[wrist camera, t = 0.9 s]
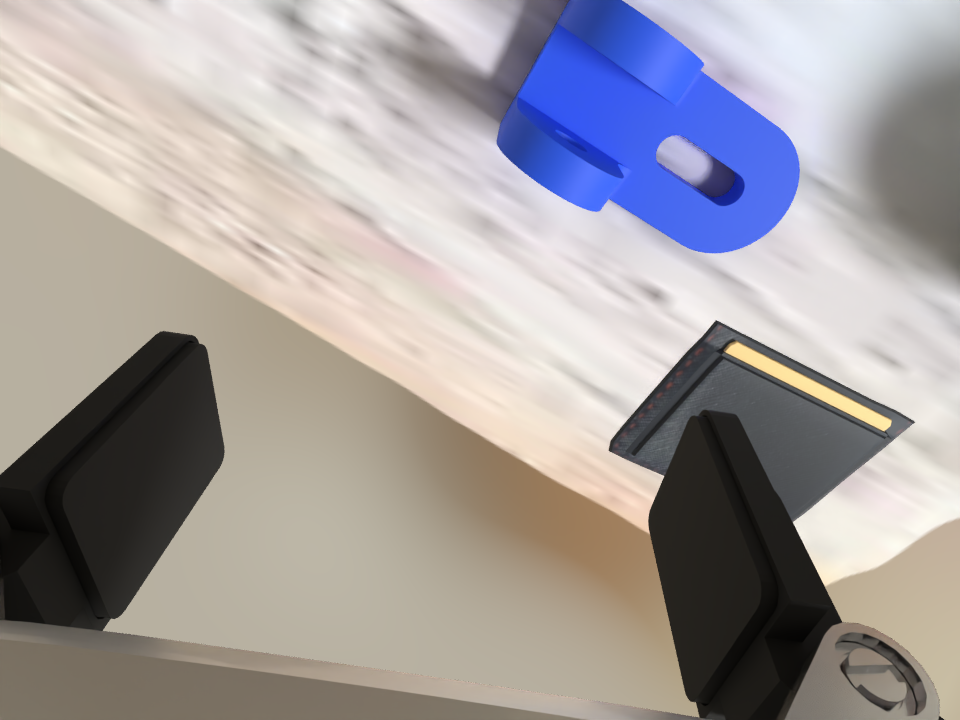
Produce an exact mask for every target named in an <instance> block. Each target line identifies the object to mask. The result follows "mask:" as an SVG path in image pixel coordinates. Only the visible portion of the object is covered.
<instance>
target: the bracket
mask: <svg viewBox="0 0 960 720" xmlns="http://www.w3.org/2000/svg"><path fill="white" fill-rule="evenodd" d="M703 66H704V63H703V62H702V61H701V60H700V59H699V58H698V57H697V56H696V55H695V54H694V53H693V52H692V51H690V50H689V49H688V48H687V47H685V46H684V45H683V44H682V43H681V42H679V41H678V40H677V39H675V38H674V37H673V36H671V35H670V34H669V33H668V32H666V31H665V30H664V29H662V28H661V27H659V26H658V25H657V24H655V23H654V22H653V21H651V20H650V19H648V18H647V17H645V16H644V15H643V14H641V13H640V12H638V11H637V10H635V9H634V8H632V7H631V6H629V5H628V4H626V3H625V2H623V1H622V0H569V2H568V3H567V5H566V7H565V9H564V11H563V12H562V14H561V16H560V18H559V20H558V21H557V23H556V25H555V27H554V29H553V30H552V32H551V34H550V36H549V37H548V39H547V41H546V43H545V45H544V46H543V48H542V50H541V52H540V54H539V55H538V57H537V59H536V61H535V63H534V64H533V66H532V68H531V70H530V71H529V73H528V75H527V77H526V79H525V80H524V82H523V84H522V86H521V88H520V89H519V91H518V93H517V95H516V97H515V98H514V100H513V102H512V104H511V105H510V107H509V109H508V111H507V113H506V114H505V116H504V118H503V120H502V122H501V123H500V128H499V133H498V137H497V145H498V147H499V148H500V150H501V151H502V152H503V154H504V155H505V156H506V157H507V158H508V159H509V160H510V161H511V162H512V163H514V164H515V165H516V166H517V167H518V168H519V169H521V170H522V171H523V172H524V173H526V174H527V175H528V176H529V177H531V178H532V179H534V180H535V181H536V182H538V183H539V184H541V185H542V186H544V187H545V188H547V189H548V190H550V191H551V192H553V193H555V194H556V195H558V196H560V197H561V198H563V199H565V200H567V201H569V202H571V203H573V204H575V205H577V206H579V207H582V208H584V209H587V210H590V211H596V212H597V211H600V210H601V209H602V207H603V206H604V204H605V203H606V202H607V200H608V199H610V200H612V201H613V202H615V203H617V204H618V205H620V206H621V207H623V208H625V209H626V210H628V211H629V212H631V213H632V214H634V215H636V216H637V217H639V218H640V219H642V220H644V221H645V222H647V223H648V224H650V225H651V226H653V227H655V228H656V229H658V230H659V231H661V232H662V233H664V234H666V235H667V236H669V237H670V238H672V239H674V240H675V241H677V242H678V243H680V244H681V245H683V246H685V247H687V248H689V249H692V250H695V251H698V252H704V253H723V252H729V251H734V250H737V249H740V248H743V247H745V246H747V245H749V244H751V243H753V242H755V241H757V240H758V239H760V238H761V237H763V236H764V235H765V234H767V233H768V232H769V231H770V230H771V229H772V228H774V227H775V226H776V224H777V223H778V222H779V221H780V220H781V219H782V217H783V216H784V215H785V213H786V212H787V210H788V209H789V207H790V205H791V203H792V201H793V199H794V196H795V194H796V190H797V187H798V182H799V172H800V169H799V160H798V155H797V152H796V149H795V147H794V145H793V143H792V141H791V140H790V138H789V137H788V136H787V135H786V134H785V133H784V132H783V131H782V130H781V129H780V128H779V127H777V126H776V125H775V124H773V123H772V122H770V121H769V120H768V119H766V118H765V117H764V116H762V115H761V114H759V113H758V112H757V111H755V110H754V109H753V108H751V107H750V106H748V105H747V104H746V103H744V102H743V101H741V100H740V99H739V98H737V97H736V96H735V95H733V94H732V93H730V92H729V91H728V90H726V89H725V88H724V87H722V86H721V85H719V84H718V83H717V82H715V81H714V80H713V79H711V78H710V77H708V76H707V75H706V74H704V73H703V72H702V71H700V70H701V69H702V67H703ZM673 135H681V136H683V137H685V138H687V139H688V140H690V141H691V142H693V143H694V144H695V145H697V146H698V147H700V148H701V149H703V150H704V151H706V152H707V153H709V154H710V155H711V156H713V157H714V158H716V159H717V160H719V161H720V162H722V163H723V164H725V165H726V166H727V167H729V168H730V169H732V170H733V171H734V174H735V181H734V184H733V186H732V188H731V189H730V190H729V191H728V192H727V193H726V194H724V195H722V196H719V197H710V196H708V195H706V194H705V193H703V192H702V191H700V190H699V189H697V188H696V187H694V186H693V185H691V184H690V183H688V182H687V181H685V180H684V179H682V178H681V177H679V176H678V175H676V174H675V173H673V172H672V171H670V170H669V169H667V168H666V167H664V166H662V165H661V164H659V163H658V162H657V161H656V151H657V148H658V146H659V145H660V143H661V142H662V141H663V140H664V139H666V138H667V137H670V136H673Z"/></svg>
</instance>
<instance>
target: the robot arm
mask: <svg viewBox="0 0 960 720" xmlns="http://www.w3.org/2000/svg"><path fill="white" fill-rule="evenodd" d="M223 458H224V443H223V437H222V432H221V427H220V421H219V415H218V409H217V403H216V398H215V393H214V386H213V381H212V375H211V370H210V364H209V358H208V353H207V349H206V347H205V346H204V345H202V344H199V342H198V340H197V338H196V337H195V336H193V335H187V334H180V333H173V332H166V331H163V332H159V333H158V334H156V335H155V336H154V337H153V338H152V339H151V340H150V341H149V342H147V343H146V344H145V345H144V346H143V347H142V348H141V349H140V350H138V351H137V352H136V353H135V354H134V355H133V356H132V357H131V358H130V359H128V360H127V361H126V362H125V363H124V364H123V365H122V366H121V367H120V368H118V369H117V370H116V371H115V372H114V373H113V374H112V375H111V376H110V377H109V378H107V379H106V380H105V381H104V382H103V383H102V384H101V385H100V386H98V387H97V388H96V389H95V390H94V391H93V392H92V393H91V394H90V395H89V396H87V397H86V398H85V399H84V400H83V401H82V402H81V403H80V404H78V405H77V406H76V407H75V408H74V409H73V410H72V411H71V412H70V413H69V414H68V415H66V416H65V417H64V418H63V419H62V420H61V421H60V422H58V423H57V424H56V425H55V426H54V427H53V428H52V429H51V430H50V431H48V432H47V433H46V434H45V435H44V436H43V437H42V438H41V439H40V440H38V441H37V442H36V443H35V444H34V445H33V446H32V447H31V448H30V449H28V450H27V451H26V452H25V453H24V454H23V455H22V456H21V457H20V458H18V459H17V460H16V461H15V462H14V463H13V464H12V465H11V466H10V467H9V468H7V469H6V470H5V471H4V472H3V473H2V474H1V475H0V720H944V719H943V718H941V717H940V716H939V713H940V709H939V707H940V704H939V697H938V694H937V692H936V689H935V686H934V684H933V682H932V680H931V679H930V677H929V676H928V674H927V673H926V671H925V670H924V668H923V667H922V665H920V663H918V661H917V660H916V659H915V658H914V657H913V656H912V655H911V654H910V653H909V652H908V651H907V650H906V649H905V648H903V647H902V646H901V645H899V644H898V643H897V642H896V641H894V640H893V639H892V638H890V637H888V636H886V635H885V634H883V633H881V632H879V631H877V630H876V629H874V628H871V627H868V626H864V625H861V624H858V623H846V622H843V623H842V621H841V619H840V617H839V615H838V613H837V611H836V609H835V607H834V605H833V603H832V601H831V599H830V597H829V595H828V592H827V591H826V589H825V586H824V584H823V582H822V580H821V578H820V576H819V574H818V572H817V570H816V568H815V566H814V564H813V562H812V560H811V558H810V556H809V554H808V552H807V550H806V548H805V546H804V544H803V542H802V540H801V538H800V536H799V534H798V532H797V530H796V528H795V526H794V524H793V522H792V520H791V518H790V516H789V514H788V512H787V510H786V508H785V506H784V504H783V502H782V500H781V498H780V497H779V495H778V494H777V492H776V491H774V489H773V486H772V484H771V482H770V480H769V478H768V476H767V474H766V472H765V470H764V468H763V466H762V464H761V462H760V460H759V458H758V456H757V454H756V452H755V450H754V448H753V446H752V444H751V442H750V440H749V438H748V436H747V434H746V432H745V430H744V428H743V426H742V424H741V422H740V420H739V418H738V416H737V415H736V414H733V413H727V412H720V411H713V410H702V411H701V412H700V414H699V416H695V415H693V416H691V417H690V418H689V420H688V422H687V424H686V427H685V429H684V432H683V434H682V436H681V439H680V441H679V443H678V446H677V448H676V450H675V453H674V455H673V457H672V460H671V462H670V464H669V467H668V469H667V472H666V474H665V476H664V479H663V481H662V483H661V486H660V488H659V490H658V493H657V495H656V497H655V500H654V502H653V504H652V507H651V509H650V513H649V520H648V523H649V531H650V536H651V540H652V544H653V549H654V553H655V558H656V563H657V567H658V572H659V576H660V581H661V585H662V590H663V594H664V599H665V603H666V608H667V612H668V617H669V621H670V626H671V631H672V635H673V640H674V644H675V649H676V653H677V657H678V662H679V667H680V671H681V676H682V680H683V685H684V688H685V693H686V695H687V697H688V699H689V700H690V701H691V702H696V704H697V708H698V712H699V716H700V718H698V717H692V716H686V715H680V714H674V713H668V712H662V711H656V710H650V709H643V708H637V707H632V706H625V705H619V704H613V703H606V702H600V701H593V700H585V699H579V698H573V697H566V696H559V695H552V694H545V693H538V692H532V691H525V690H519V689H512V688H505V687H498V686H492V685H485V684H478V683H472V682H464V681H458V680H451V679H444V678H437V677H430V676H423V675H416V674H409V673H402V672H395V671H388V670H381V669H375V668H367V667H360V666H353V665H346V664H339V663H332V662H325V661H318V660H311V659H304V658H297V657H290V656H283V655H276V654H269V653H262V652H254V651H247V650H240V649H232V648H225V647H218V646H210V645H203V644H196V643H189V642H182V641H174V640H167V639H160V638H153V637H145V636H138V635H131V634H123V633H115V632H106V631H103V629H104V628H105V626H106V625H107V623H108V622H109V620H110V619H111V618H112V619H115V618H118V617H119V616H120V615H121V614H122V613H123V612H124V611H125V610H126V608H127V606H128V605H129V604H130V602H131V601H132V599H133V598H134V596H135V595H136V593H137V591H138V590H139V588H140V587H141V586H142V584H143V582H144V581H145V579H146V578H147V576H148V574H149V573H150V572H151V570H152V569H153V567H154V566H155V564H156V563H157V561H158V560H159V558H160V557H161V555H162V554H163V552H164V551H165V549H166V548H167V546H168V545H169V543H170V542H171V540H172V538H173V537H174V536H175V534H176V533H177V531H178V530H179V528H180V527H181V525H182V524H183V522H184V521H185V519H186V517H187V516H188V515H189V513H190V511H191V510H192V509H193V507H194V505H195V504H196V502H197V501H198V499H199V498H200V496H201V495H202V493H203V492H204V490H205V489H206V487H207V486H208V484H209V483H210V481H211V480H212V478H213V477H214V475H215V473H216V472H217V471H218V469H219V468H220V466H221V464H222V461H223Z"/></svg>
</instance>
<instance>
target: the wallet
mask: <svg viewBox="0 0 960 720" xmlns="http://www.w3.org/2000/svg"><path fill="white" fill-rule="evenodd" d="M702 410H713V411H720V412H727V413H733V414H736V415H737V416H738V418H739V420H740V422H741V424H742V426H743V428H744V430H745V432H746V434H747V436H748V438H749V440H750V442H751V444H752V446H753V448H754V450H755V452H756V454H757V456H758V458H759V460H760V462H761V464H762V466H763V468H764V470H765V472H766V474H767V476H768V478H769V480H770V482H771V484H772V486H773V489H774V491H776V492H777V494H778V495H779V497H780V498H781V500H782V502H783V504H784V506H785V508H786V510H787V512H788V514H789V516H790V518H791V520H792V522H793V521H795V520H796V519H797V518H799V517H800V516H801V515H803V514H804V513H805V512H807V511H808V510H809V509H810V508H812V507H813V506H814V505H815V504H816V503H817V502H819V501H820V500H821V499H822V498H823V497H825V496H826V495H827V494H828V493H829V492H831V491H832V490H833V489H834V488H835V487H836V486H838V485H839V484H840V483H841V482H842V481H844V480H845V479H846V478H847V477H848V476H850V475H851V474H852V473H853V472H855V471H856V470H857V469H858V468H860V467H861V466H862V465H863V464H865V463H866V462H867V461H868V460H870V459H871V458H872V457H873V456H875V455H876V454H877V453H878V452H880V451H881V450H882V449H883V448H885V447H886V446H887V445H888V444H889V443H890V442H892V441H893V440H894V439H895V438H896V437H897V436H899V435H900V434H901V433H902V432H904V431H905V430H906V429H907V428H908V427H910V426H911V425H912V424H913V423H915V422H914V421H913V420H911V419H909V418H908V417H906V416H904V415H903V414H901V413H899V412H897V411H896V410H893V409H891V408H889V407H887V406H885V405H882V404H880V403H878V402H876V401H874V400H871V399H869V398H867V397H866V396H864V395H862V394H860V393H858V392H856V391H854V390H852V389H850V388H848V387H846V386H844V385H842V384H840V383H838V382H836V381H834V380H832V379H830V378H828V377H826V376H824V375H822V374H820V373H818V372H816V371H815V370H813V369H811V368H809V367H807V366H805V365H803V364H801V363H799V362H797V361H795V360H793V359H791V358H789V357H787V356H785V355H783V354H781V353H779V352H777V351H775V350H773V349H771V348H769V347H767V346H765V345H764V344H762V343H760V342H758V341H756V340H754V339H752V338H750V337H748V336H746V335H744V334H742V333H740V332H738V331H736V330H734V329H732V328H730V327H728V326H726V325H724V324H722V323H721V322H719V321H717V320H716V322H715V323H714V324H713V325H712V326H711V328H710V329H709V330H708V331H707V332H706V334H705V335H704V336H703V337H702V338H701V339H700V340H699V341H698V342H697V343H696V344H695V345H694V346H693V347H692V348H691V349H690V350H689V351H688V352H687V353H686V354H685V355H684V356H683V358H682V359H681V360H680V361H679V362H678V363H677V364H676V366H675V367H674V368H673V369H672V370H671V371H670V372H669V374H668V375H667V376H666V377H665V378H664V379H663V380H662V382H661V383H660V384H659V385H658V386H657V387H656V388H655V390H654V391H653V392H652V393H651V394H650V395H649V396H648V398H647V399H646V400H645V401H644V402H643V403H642V405H641V406H640V407H639V408H638V409H637V410H636V411H635V413H634V414H633V415H632V416H631V417H630V418H629V420H628V421H627V422H626V423H625V424H624V425H623V426H622V428H621V429H620V430H619V431H618V433H617V434H616V435H615V436H614V438H613V439H612V440H611V444H610V448H609V451H610V452H612V453H614V454H616V455H618V456H620V457H622V458H624V459H627V460H629V461H631V462H633V463H636V464H638V465H640V466H642V467H645V468H647V469H649V470H652V471H654V472H656V473H659V474H661V475H664V476H665V474H666V472H667V469H668V467H669V464H670V462H671V460H672V457H673V455H674V453H675V450H676V448H677V446H678V443H679V441H680V439H681V436H682V434H683V432H684V429H685V427H686V424H687V422H688V420H689V418H690V417H691V416H693V415H695V416H699V414H700V412H701V411H702Z"/></svg>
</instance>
